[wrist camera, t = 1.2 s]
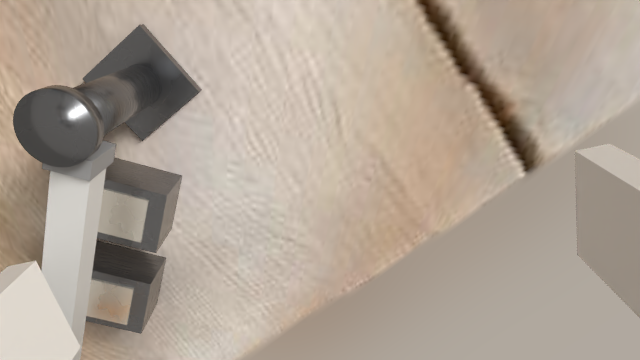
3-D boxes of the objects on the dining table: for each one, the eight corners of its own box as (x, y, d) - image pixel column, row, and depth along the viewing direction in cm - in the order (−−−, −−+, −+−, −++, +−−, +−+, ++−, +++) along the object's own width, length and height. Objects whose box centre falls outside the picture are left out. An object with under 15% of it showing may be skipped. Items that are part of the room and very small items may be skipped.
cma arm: (71, 132, 28) (41, 148, 25) (117, 144, 29) (94, 162, 26) (45, 381, 36) (20, 416, 33) (82, 389, 36) (61, 424, 33)
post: (87, 77, 35) (-34, 119, 23) (143, 24, 34) (45, 41, 22) (146, 137, 37) (62, 206, 25) (201, 89, 35) (141, 138, 23)
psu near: (82, 148, 37) (53, 167, 33) (182, 175, 38) (166, 196, 34) (75, 204, 39) (48, 227, 35) (171, 228, 40) (155, 254, 36)
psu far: (72, 234, 40) (45, 260, 36) (166, 257, 41) (149, 285, 37) (67, 282, 42) (41, 312, 38) (156, 303, 42) (140, 335, 39)
